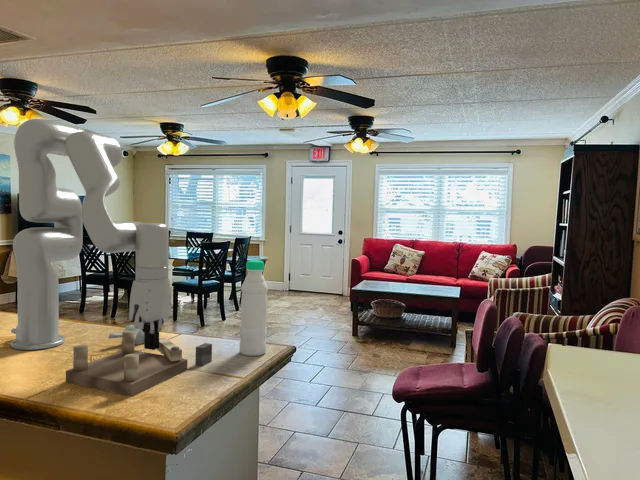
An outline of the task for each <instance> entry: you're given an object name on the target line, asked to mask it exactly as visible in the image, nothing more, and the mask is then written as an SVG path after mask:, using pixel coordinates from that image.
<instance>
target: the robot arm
mask: <svg viewBox="0 0 640 480" xmlns="http://www.w3.org/2000/svg"><path fill="white" fill-rule="evenodd" d="M13 145H14V146H13V147H14V152H15V157H16V162H17V168H18V169H17V170H18V205H19V213H20V215H21V216H20V217H22V218H23V220H25V221H27V222H30V223H31V222H32V223H53V225H54V227H50V226H49V227H48V226H47V227H43V226H42V227H29V228H25V229H22V230H21V231H19V232H18V233H17V234H15V236H14V238H13V241H12V250H13V255H14V259H15V263H16V264H15V265H16V274H17V275H16V276H17V325H16V327H15V328H12V329H11V330H10V332H11V334H15V338H14V339H12V340H11V342H10V347H11V348H12V349H15V350H19V351H20V350H22V351H33V350H44V349H49V348H54V347H57V346H60V345H62V344H64V343H65V341H66V337H65V336H64V335H61V334H60V333H59V329H60V328H59V327H60V326H59V318H60V317H59V313H60V310H59V309H60V307H59V306H60V305H59V302H60V300H59V297H60V294H59V292H60V291H59V289H60V286H59V283H60V282H59V276H58V273H57V271H56V269H55V268H54V266H53V263H54V262H63V261H69V260H70V261H71V260H73V259H76V258H77V257H78V256H79V255H80V253H81V251H82V248H83V237H84V236H83V235H84V232H83V229H84V228H85V230H86V232H87V234H88V236H89V239H90V240H91V242H92V244H93V245H94V247H96V249H98V251H101V252H102V253H106V254H116V253H128V252H135V280H133V281H132V286H131V289H130V295H129V296H130V297H129V306H128V307H129V309H128V310H129V312H128V314H129V315H128V318H129V321H131V322H134V324H133V325H134V328H137V329H141V330H142V332H143V333H144V343H143V345H144V346H143V347H144V349H146V350H150V351H155V350H157V349H158V348H159V338H160V332H162V326H163V324H164V323H166V322H168V320H169V316H170V315H171V313H172V291H171V283H170V282H171V281H170V279H169V271H170V270H169V253H170V252H169V247H170V245H169V241H170V239H169V238H170V237H169V234H170V232H169V227H168V225H167V224H166V223H160V222H159V223H158V222H149V223H148V222H141V221H129V220H119V221H118V220H114V221H113V220H112V218H111V216H110V214H109V212H108V210H107V207H106V204H105V199H106V197H108V196H110V195H111V194H113V193H114V192H116V191H117V190H118V189H119V187H120V185H121V181H120V178H119V176H118V174H117V171H116V170H115V168H116V166H117V167H118V165H119V164H120V163H121V161H122V157H123V150H122V148H121V147H122V146H121V145H120V143H119V141H118V140H116V139H115V138H113V137H112V136H110V135H105V134H102V133H99V132H96V131H92V130H90V129H86V128H84V127H80V126H76V125H72V124H66V123H62V122H59V121H53V120H50V119H43V118H31V119H27V120H26V121H24V122H23V123H21V124H20V126H18V128H17V130H16V132H15V135H14V141H13ZM48 154H49V155H50V154H51V155H57V156H63V157H68V159H69V160H70V163H71V164H72V168H73V169H74V171H75V174H76V176H77V177H78V180H79V182H80V183H81V186H82V187H83V190H84V192H85V195H84V198H83V199H82V201H81V199H80V197H79V196H78V194H77V193H76V192H74V191H73V190H70V189H68V188H59V187H58V188H57V181H56V177H57V176H56V170H55V167H54V165H53V163H52V161H51V160H50V158H49V156H48ZM83 226H84V228H83Z"/></svg>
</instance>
